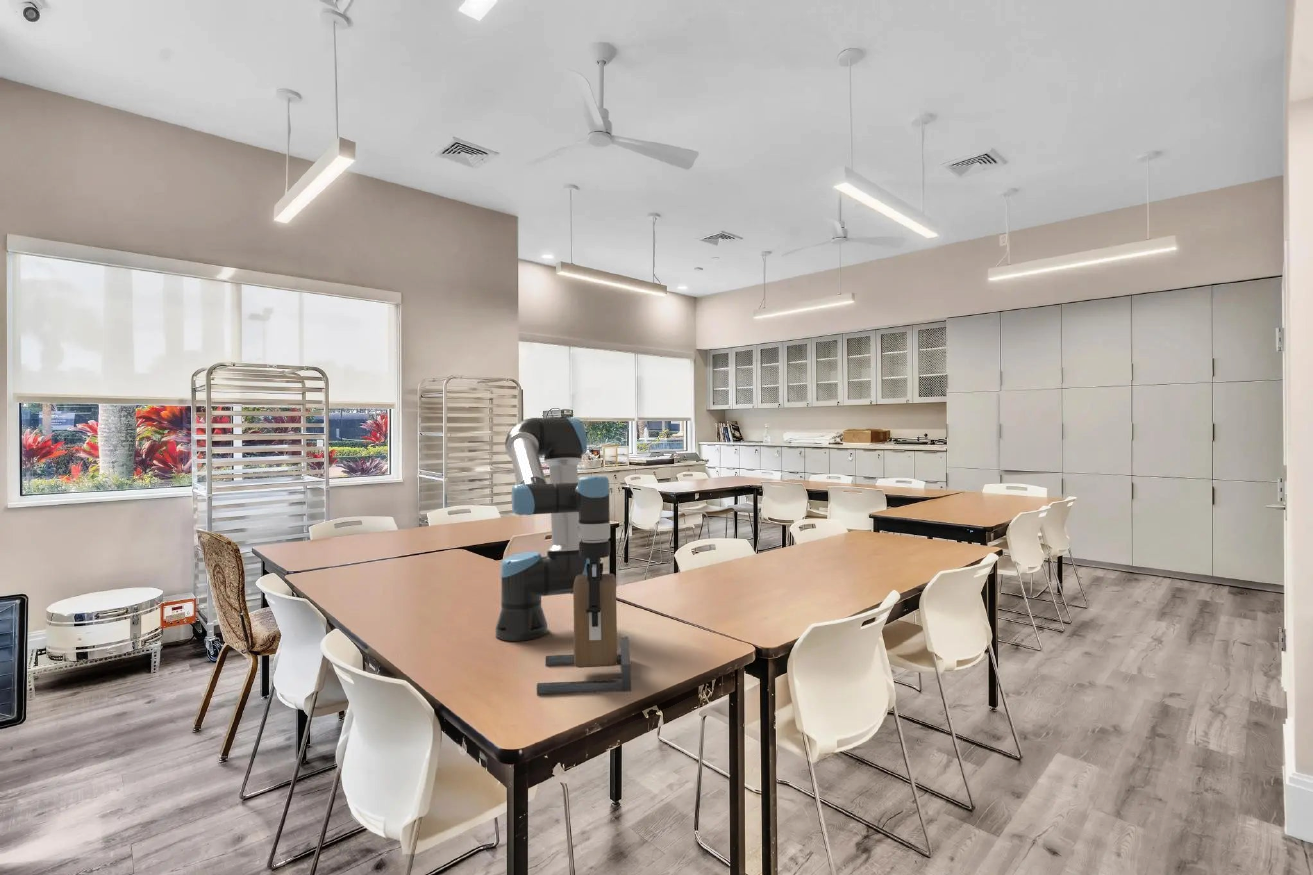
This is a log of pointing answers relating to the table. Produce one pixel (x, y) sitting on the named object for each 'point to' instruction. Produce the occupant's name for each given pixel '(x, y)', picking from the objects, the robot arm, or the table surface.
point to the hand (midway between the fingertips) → (595, 632)
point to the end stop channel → (589, 686)
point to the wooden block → (606, 648)
